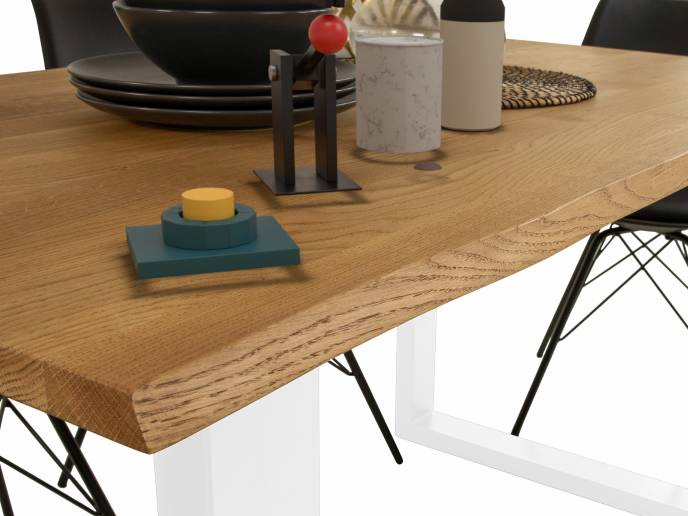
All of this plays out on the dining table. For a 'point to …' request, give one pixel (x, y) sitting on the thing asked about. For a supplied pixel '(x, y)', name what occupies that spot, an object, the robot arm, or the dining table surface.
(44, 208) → the dining table surface
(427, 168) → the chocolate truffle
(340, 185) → the bracket
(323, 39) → the lever
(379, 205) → the dining table surface
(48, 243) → the dining table surface
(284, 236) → the control block
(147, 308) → the dining table surface
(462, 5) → the travel mug
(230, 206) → the button
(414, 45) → the white marbled canister
